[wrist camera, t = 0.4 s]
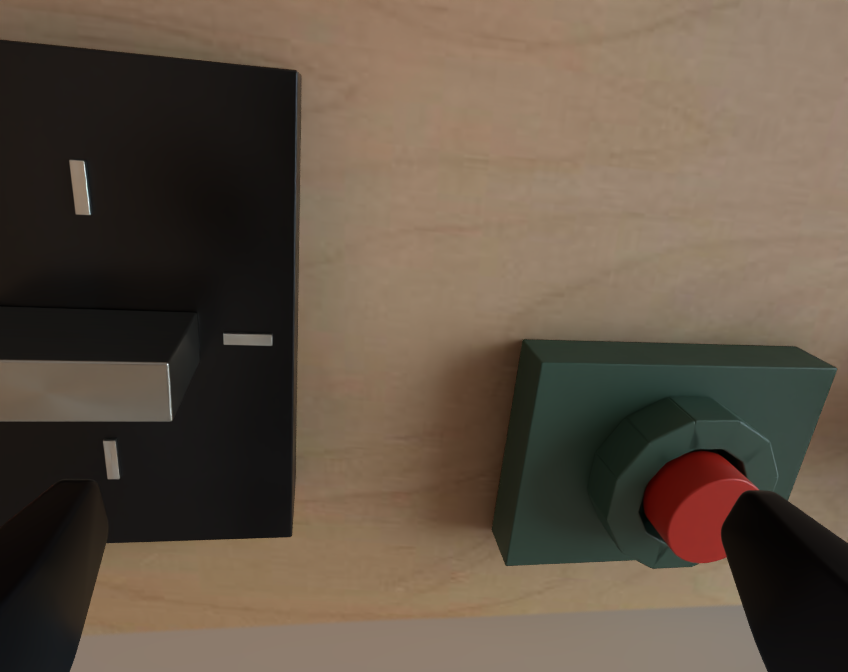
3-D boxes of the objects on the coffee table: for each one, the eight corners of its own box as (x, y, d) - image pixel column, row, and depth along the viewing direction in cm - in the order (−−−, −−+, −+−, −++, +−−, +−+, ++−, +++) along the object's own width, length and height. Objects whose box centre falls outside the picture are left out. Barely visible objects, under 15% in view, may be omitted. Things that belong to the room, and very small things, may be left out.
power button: (633, 532, 22) (656, 566, 21) (655, 450, 21) (682, 479, 20) (718, 529, 23) (747, 562, 21) (744, 449, 22) (778, 477, 20)
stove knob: (197, 311, 17) (166, 367, 14) (200, 362, 18) (170, 427, 14) (-14, 304, 16) (-106, 363, 13) (-4, 358, 17) (-90, 428, 13)
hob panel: (295, 486, 24) (291, 540, 21) (-15, 491, 22) (-67, 553, 19) (301, 73, 18) (297, 69, 15) (-112, 31, 16) (-207, 17, 13)
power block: (491, 530, 26) (518, 601, 22) (522, 338, 23) (560, 385, 19) (736, 521, 28) (798, 585, 24) (796, 346, 25) (878, 389, 21)
